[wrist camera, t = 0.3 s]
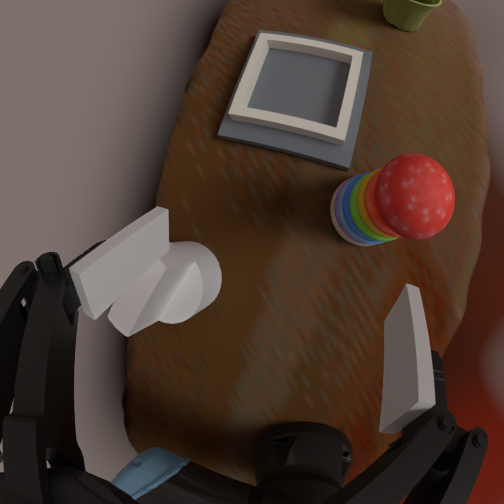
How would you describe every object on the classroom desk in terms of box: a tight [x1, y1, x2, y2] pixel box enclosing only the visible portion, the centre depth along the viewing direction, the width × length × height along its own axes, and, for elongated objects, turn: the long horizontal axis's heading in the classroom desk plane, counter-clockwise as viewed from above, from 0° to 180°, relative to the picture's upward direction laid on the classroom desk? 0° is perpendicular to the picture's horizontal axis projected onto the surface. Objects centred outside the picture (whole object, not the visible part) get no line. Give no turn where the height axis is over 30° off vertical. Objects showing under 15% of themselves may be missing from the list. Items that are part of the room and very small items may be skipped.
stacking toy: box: [330, 153, 455, 246], centre depth 20 cm, size 8×8×19 cm
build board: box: [218, 30, 373, 171], centre depth 28 cm, size 18×16×4 cm
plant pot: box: [383, 0, 442, 31], centre depth 21 cm, size 9×9×9 cm
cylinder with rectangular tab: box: [108, 241, 222, 337], centre depth 29 cm, size 9×9×12 cm
